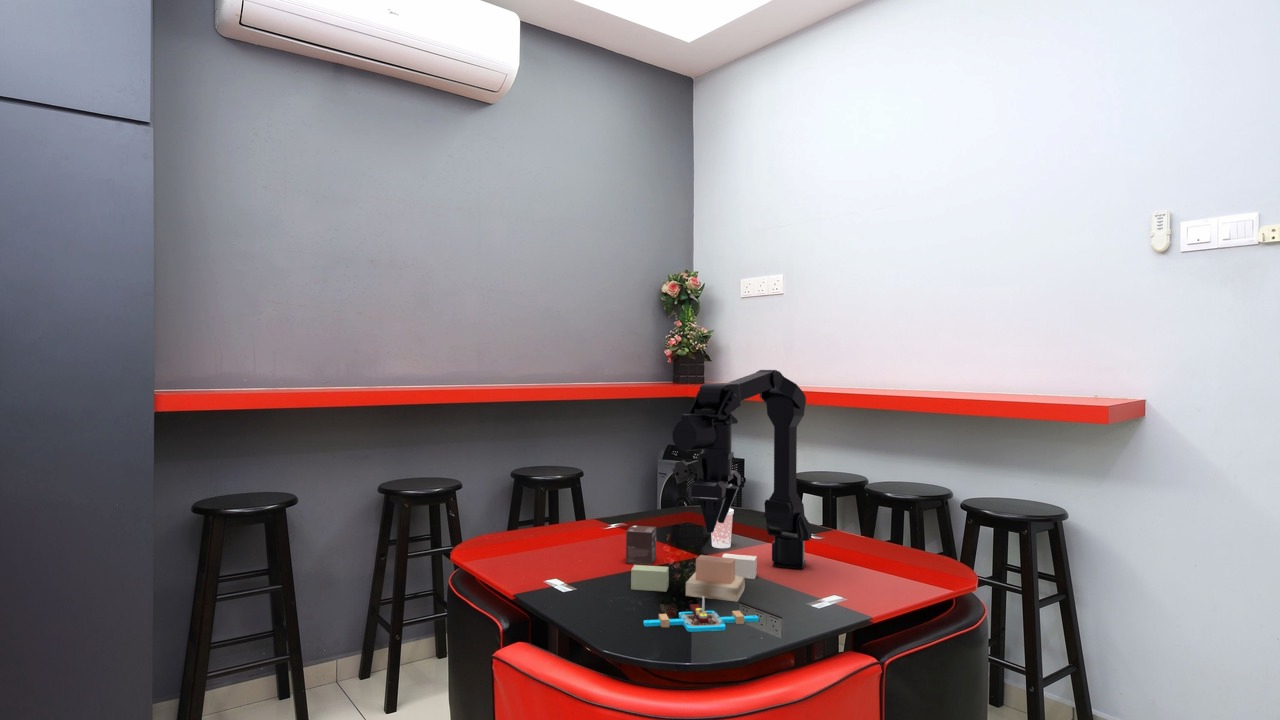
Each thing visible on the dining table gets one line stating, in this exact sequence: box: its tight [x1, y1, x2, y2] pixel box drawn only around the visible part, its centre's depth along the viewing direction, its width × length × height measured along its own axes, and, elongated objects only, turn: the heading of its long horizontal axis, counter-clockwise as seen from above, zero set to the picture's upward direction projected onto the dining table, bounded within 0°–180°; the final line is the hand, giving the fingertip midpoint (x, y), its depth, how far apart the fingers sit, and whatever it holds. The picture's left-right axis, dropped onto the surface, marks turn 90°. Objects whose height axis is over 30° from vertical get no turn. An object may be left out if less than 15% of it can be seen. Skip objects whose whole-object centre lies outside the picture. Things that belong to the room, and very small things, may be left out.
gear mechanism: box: [643, 596, 760, 633], centre depth 122 cm, size 20×5×9 cm
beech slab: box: [685, 571, 746, 603], centre depth 137 cm, size 10×8×3 cm
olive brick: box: [630, 564, 670, 593], centre depth 140 cm, size 7×4×4 cm, turn 81°
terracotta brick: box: [695, 554, 735, 584], centre depth 138 cm, size 7×4×4 cm, turn 70°
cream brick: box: [721, 553, 758, 580], centre depth 149 cm, size 7×4×4 cm, turn 75°
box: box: [625, 525, 657, 566], centre depth 160 cm, size 6×6×7 cm
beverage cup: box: [710, 507, 735, 549], centre depth 174 cm, size 6×6×14 cm
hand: (715, 527), depth 138 cm, fingers open, 9 cm apart
